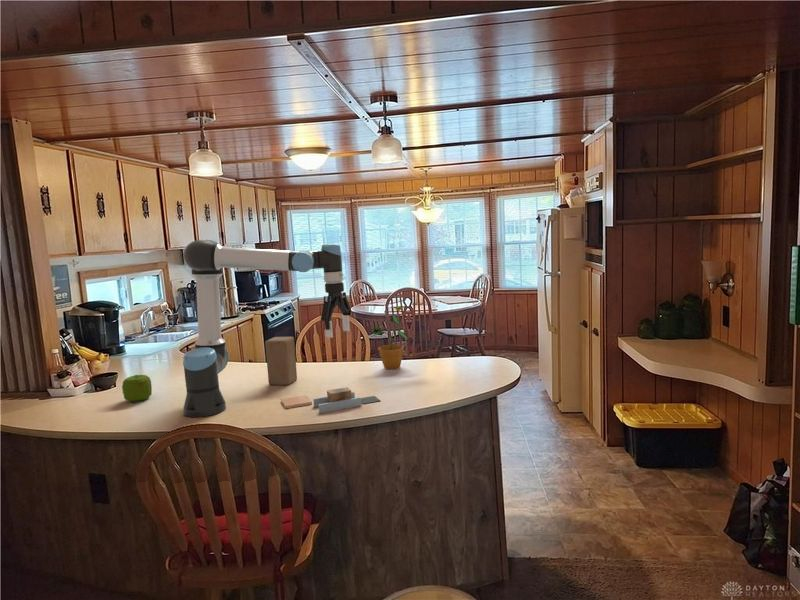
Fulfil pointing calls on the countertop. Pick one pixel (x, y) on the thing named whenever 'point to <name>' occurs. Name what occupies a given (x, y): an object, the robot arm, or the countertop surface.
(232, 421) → the countertop surface
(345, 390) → the block
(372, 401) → the trap mat
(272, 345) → the wooden block
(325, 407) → the channel
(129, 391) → the green rounded cube
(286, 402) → the tile
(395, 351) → the potted plant
